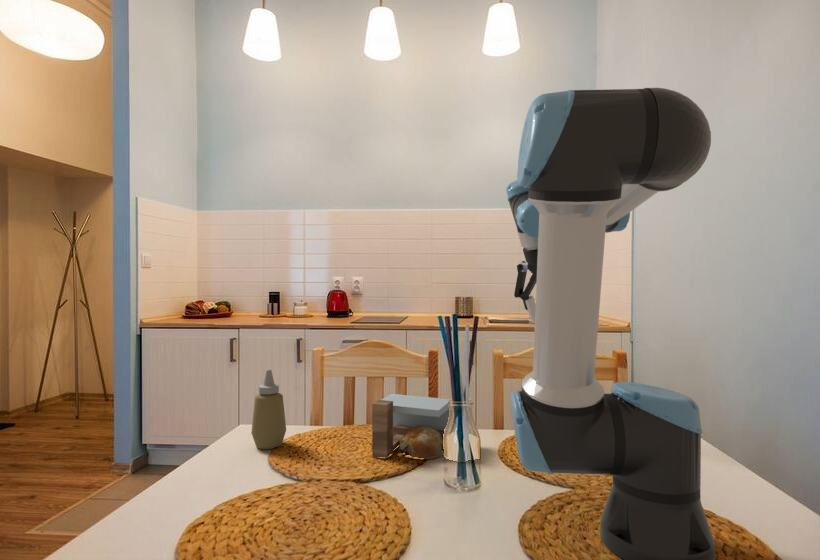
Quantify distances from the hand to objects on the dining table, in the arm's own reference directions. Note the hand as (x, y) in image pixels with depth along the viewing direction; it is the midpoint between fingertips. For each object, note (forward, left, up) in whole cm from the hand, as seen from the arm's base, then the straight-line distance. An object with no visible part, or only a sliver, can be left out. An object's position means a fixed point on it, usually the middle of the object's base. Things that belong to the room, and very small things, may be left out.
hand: (559, 322), depth 119 cm
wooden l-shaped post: (-21, +31, -29) cm, 47 cm away
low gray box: (-18, +32, -29) cm, 46 cm away
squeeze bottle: (-31, +64, -29) cm, 77 cm away
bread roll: (-22, +29, -29) cm, 46 cm away
